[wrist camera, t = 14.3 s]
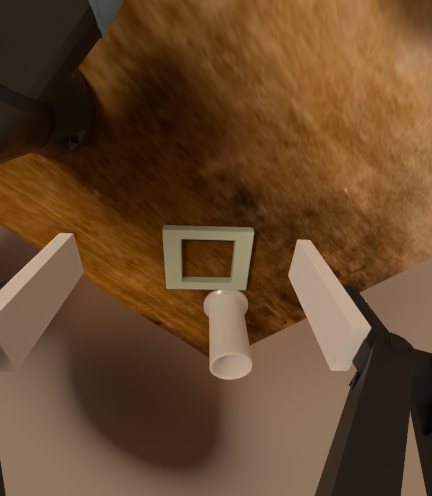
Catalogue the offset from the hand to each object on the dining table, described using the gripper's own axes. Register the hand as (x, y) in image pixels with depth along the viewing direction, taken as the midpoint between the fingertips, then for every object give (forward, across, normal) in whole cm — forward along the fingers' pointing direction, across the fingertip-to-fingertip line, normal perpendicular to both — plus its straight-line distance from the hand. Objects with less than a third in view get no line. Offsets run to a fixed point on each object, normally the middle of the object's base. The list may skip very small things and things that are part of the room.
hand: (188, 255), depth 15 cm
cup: (+32, +7, -36) cm, 49 cm away
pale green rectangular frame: (+33, +2, -22) cm, 39 cm away
